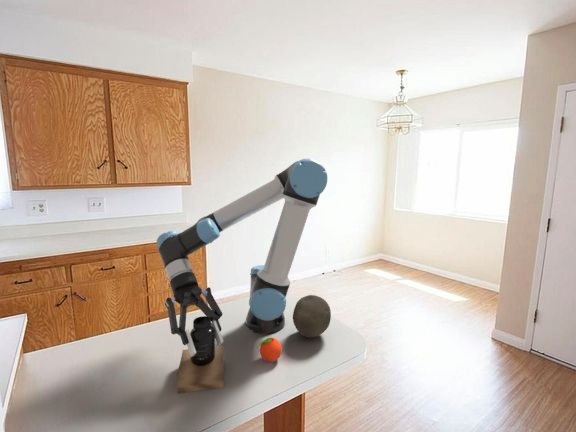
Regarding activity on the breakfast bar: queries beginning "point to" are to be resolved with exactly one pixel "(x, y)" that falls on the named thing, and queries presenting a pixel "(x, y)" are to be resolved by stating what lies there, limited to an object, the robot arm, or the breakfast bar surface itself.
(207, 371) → the walnut block
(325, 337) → the breakfast bar surface
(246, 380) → the breakfast bar surface
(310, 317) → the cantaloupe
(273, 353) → the clementine
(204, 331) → the supplement bottle
